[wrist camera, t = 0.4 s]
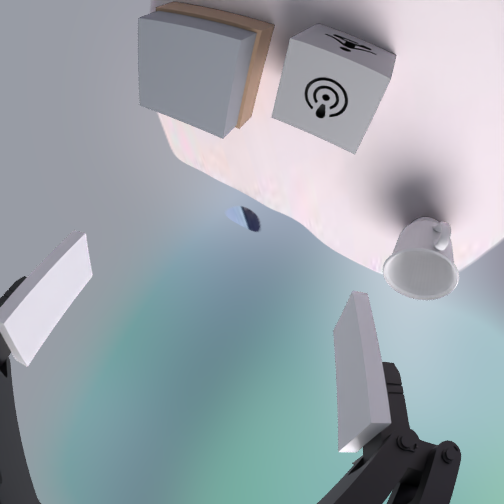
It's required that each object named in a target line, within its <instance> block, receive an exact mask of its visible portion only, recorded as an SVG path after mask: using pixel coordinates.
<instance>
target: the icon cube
mask: <svg viewBox="0 0 504 504" xmlns="http://www.w3.org/2000/svg"><path fill="white" fill-rule="evenodd" d="M395 59H396V55H394V54H392V53H390V52H388V51H386V50H384V49H382V48H380V47H377V46H375V45H373V44H371V43H368V42H366V41H364V40H361V39H359V38H357V37H354V36H352V35H349V34H347V33H344V32H341V31H339V30H336V29H333V28H330V27H328V26H325V25H322V24H319V23H318V24H316V25H314V26H312V27H310V28H308V29H306V30H304V31H302V32H300V33H299V34H297V35H295V36H293V37H291V38H290V41H289V45H288V49H287V53H286V58H285V62H284V66H283V70H282V75H281V79H280V83H279V87H278V92H277V96H276V100H275V104H274V109H273V113H272V118H274V119H277V120H279V121H282V122H284V123H287V124H289V125H291V126H294V127H296V128H299V129H301V130H303V131H305V132H308V133H310V134H312V135H315V136H317V137H319V138H321V139H323V140H326V141H328V142H330V143H332V144H334V145H336V146H338V147H340V148H343V149H345V150H347V151H349V152H351V153H353V154H355V153H356V151H357V149H358V147H359V145H360V143H361V141H362V139H363V137H364V135H365V133H366V131H367V129H368V127H369V125H370V123H371V120H372V118H373V116H374V114H375V112H376V110H377V108H378V106H379V104H380V101H381V99H382V97H383V95H384V93H385V91H386V88H387V86H388V84H389V82H390V80H391V76H392V72H393V68H394V63H395Z"/></svg>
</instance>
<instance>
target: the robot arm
mask: <svg viewBox="0 0 504 504" xmlns="http://www.w3.org/2000/svg"><path fill="white" fill-rule="evenodd" d="M92 276H93V275H92V269H91V264H90V258H89V252H88V245H87V239H86V233H84V232H80V231H75V230H74V231H73V232H72V233H71V234H70V235H69V236H68V237H66V238H65V239H64V240H63V241H62V242H61V243H60V244H59V245H58V246H57V247H56V248H55V249H54V250H53V251H52V252H51V253H50V254H49V255H48V256H47V257H46V258H45V259H44V260H43V261H42V262H41V263H40V264H39V265H38V266H37V267H36V268H35V269H34V270H33V272H32V273H31V274H30V275H29V276H28V277H25V276H24V277H22V278H21V279H19V280H18V281H16V282H15V283H14V284H13V285H12V286H11V287H10V288H9V290H7V291H6V293H5V294H4V296H2V297H1V298H0V504H41V503H40V502H39V500H38V498H37V496H36V493H35V490H34V487H33V484H32V481H31V477H30V474H29V470H28V467H27V463H26V459H25V455H24V451H23V446H22V442H21V437H20V432H19V427H18V422H17V416H16V410H15V403H14V396H13V387H12V377H11V365H10V359H9V357H8V356H9V355H10V353H12V354H13V356H14V358H15V359H16V360H17V361H18V362H20V363H22V364H23V365H25V366H27V367H28V365H29V364H30V362H31V361H32V359H33V358H34V356H35V354H36V353H37V351H38V350H39V348H40V347H41V346H42V344H43V343H44V341H45V340H46V338H47V337H48V335H49V334H50V332H51V331H52V330H53V328H54V326H55V325H56V324H57V322H58V321H59V320H60V318H61V317H62V315H63V314H64V313H65V311H66V310H67V309H68V307H69V306H70V305H71V303H72V302H73V301H74V299H75V298H76V297H77V295H78V294H79V293H80V291H81V290H82V289H83V288H84V286H85V285H86V284H87V282H88V281H89V280H90V279H91V277H92ZM333 332H334V346H335V362H336V379H337V404H338V452H357V451H359V450H360V449H361V448H362V447H363V456H361V457H360V458H359V459H357V460H356V461H355V462H354V463H352V464H354V466H353V467H352V468H351V469H350V470H349V471H348V473H346V474H345V476H344V477H343V478H342V479H341V480H340V481H339V482H338V483H337V484H336V485H335V486H334V487H333V488H332V489H331V490H330V491H329V492H328V493H327V495H325V497H324V498H322V499H321V500H320V501H319V502H318V503H317V504H382V503H383V502H384V501H385V499H386V498H387V497H388V496H389V494H390V493H391V491H392V490H393V491H392V493H391V495H390V497H389V500H388V502H387V504H449V503H450V500H451V496H452V493H453V489H454V485H455V482H456V478H457V474H458V470H459V466H460V461H461V453H460V449H459V447H458V446H457V445H456V444H455V443H454V442H452V441H444V442H442V443H440V444H439V445H434V444H431V443H428V442H424V441H422V440H420V439H419V438H418V436H417V434H416V433H415V432H414V431H413V430H411V429H410V427H409V422H408V416H407V410H406V404H405V399H404V395H403V387H402V386H401V385H402V383H401V377H400V373H399V371H398V370H397V368H396V367H395V365H394V363H389V362H382V359H381V354H380V349H379V344H378V339H377V334H376V329H375V324H374V319H373V315H372V310H371V306H370V302H369V297H368V294H367V293H363V292H358V291H352V293H351V295H350V298H349V299H348V302H347V304H346V306H345V308H344V310H343V312H342V314H341V316H340V318H339V320H338V322H337V324H336V326H335V328H334V330H333Z"/></svg>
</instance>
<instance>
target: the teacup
mask: <svg viewBox="0 0 504 504" xmlns="http://www.w3.org/2000/svg"><path fill="white" fill-rule="evenodd" d="M450 236H451V227H450V225H449V224H448V223H446V222H440V223H439V222H438V221H437V220H435V219H433V218H430V217H421V218H418V219H416V220H415V221H414V222H413V223H411V224H409V225H408V226H406V227H405V228H404V229H403V231H402V232H401V234H400V236H399V238H398V240H397V243H396V246H395V248H394V251H393V254H392V255H391V256H390V257H389V258H388V259H387V260H386V261H385V263H384V265H383V275H384V278H385V279H386V281H387V283H388V284H389V285H390V286H391V287H392V288H393V289H394V290H395V291H397V292H398V293H400V294H402V295H405V296H407V297H409V298H413V299H418V300H434V299H438V298H441V297H444V296H446V295H448V294H449V293H451V292H452V291H453V290H454V289H455V288H456V286H457V284H458V281H459V273H458V270H457V268H456V266H455V264H454V259H453V248H452V243H451V239H450Z"/></svg>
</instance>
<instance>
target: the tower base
mask: <svg viewBox="0 0 504 504" xmlns="http://www.w3.org/2000/svg"><path fill="white" fill-rule="evenodd" d="M274 26H275V25H273V24H270V23H266V22H263V21H260V20H256V19H253V18H249V17H246V16H242V15H238V14H234V13H230V12H226V11H221V10H217V9H212V8H207V7H202V6H197V5H191V4H185V3H179V2H171V3H168V4H165V5H162V6H159V7H156V12H153V13H151V14H148V15H145V16H142V17H140V18H139V19H138V71H139V98H140V105H141V106H143V107H146V108H148V109H151V110H154V111H156V112H159V113H162V114H164V115H167V116H169V117H172V118H174V119H177V120H179V121H182V122H184V123H187V124H189V125H192V126H194V127H197V128H199V129H201V130H204V131H206V132H209V133H211V134H213V135H216V136H218V137H220V138H222V139H223V138H224V137H225V136H226V135H227V134H228V133H229V132H230V131H231V130H232V129H233V128H234V127H236V128H239V129H240V128H241V127H242V125H243V124H244V123H245V122H246V121H247V120H248V119H249V118H250V117H251V116H252V112H253V108H254V103H255V99H256V95H257V91H258V87H259V83H260V79H261V75H262V71H263V68H264V64H265V60H266V56H267V52H268V48H269V44H270V41H271V37H272V33H273V29H274Z"/></svg>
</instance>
